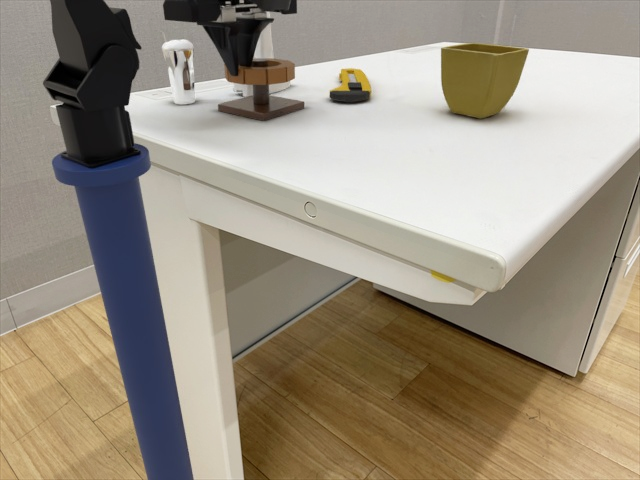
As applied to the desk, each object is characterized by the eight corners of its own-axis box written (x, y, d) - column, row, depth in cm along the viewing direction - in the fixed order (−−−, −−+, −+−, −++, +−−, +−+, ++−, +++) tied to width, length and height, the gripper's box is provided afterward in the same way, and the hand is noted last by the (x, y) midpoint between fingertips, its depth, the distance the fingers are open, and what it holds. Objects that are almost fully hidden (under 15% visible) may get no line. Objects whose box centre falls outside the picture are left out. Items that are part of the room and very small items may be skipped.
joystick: (253, 98, 80) (244, -46, 71) (219, 92, 84) (207, -45, 74) (295, 86, 88) (293, -44, 79) (263, 81, 92) (257, -44, 82)
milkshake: (182, 96, 81) (174, 30, 76) (205, 101, 78) (198, 32, 73) (159, 102, 78) (149, 32, 73) (183, 107, 75) (173, 35, 70)
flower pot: (464, 103, 77) (473, 41, 73) (518, 113, 72) (530, 47, 68) (432, 113, 72) (439, 47, 68) (487, 125, 67) (499, 54, 62)
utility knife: (329, 104, 77) (329, 90, 76) (327, 76, 97) (327, 65, 96) (374, 104, 77) (374, 90, 76) (363, 76, 97) (363, 65, 96)
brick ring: (263, 88, 66) (262, 72, 65) (211, 79, 71) (209, 64, 70) (308, 77, 72) (308, 62, 71) (257, 69, 78) (256, 56, 77)
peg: (263, 121, 68) (261, 67, 65) (218, 111, 73) (213, 60, 70) (304, 108, 75) (304, 58, 71) (260, 99, 79) (257, 53, 76)
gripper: (220, -64, 50) (232, 94, 57) (329, -57, 63) (327, 71, 71) (150, -61, 56) (170, 82, 63) (264, -55, 69) (269, 63, 77)
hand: (240, 74), depth 68 cm, fingers closed on brick ring, 2 cm apart
